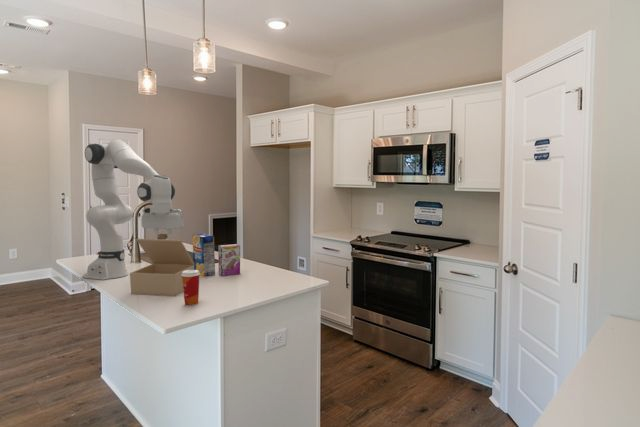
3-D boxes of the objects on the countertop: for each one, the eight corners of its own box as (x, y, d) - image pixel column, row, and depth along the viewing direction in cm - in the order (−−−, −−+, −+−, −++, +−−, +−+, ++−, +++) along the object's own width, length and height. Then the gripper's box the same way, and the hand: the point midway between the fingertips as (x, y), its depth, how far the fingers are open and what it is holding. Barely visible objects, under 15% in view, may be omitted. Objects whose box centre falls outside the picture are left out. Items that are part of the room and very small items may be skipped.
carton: (130, 294, 194) (129, 273, 193) (153, 282, 214) (153, 263, 213) (175, 296, 191) (174, 274, 190) (194, 284, 211) (193, 265, 210)
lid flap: (136, 239, 198) (140, 232, 201) (153, 263, 213) (156, 256, 216) (180, 240, 195) (183, 233, 198) (194, 264, 210) (196, 257, 213)
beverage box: (204, 277, 226) (203, 236, 224) (193, 273, 233) (192, 234, 231) (215, 274, 231) (214, 235, 228) (204, 271, 238) (203, 233, 236)
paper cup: (184, 300, 184) (183, 269, 183) (202, 300, 185) (201, 269, 183) (180, 306, 176) (179, 273, 175) (198, 305, 177) (197, 273, 175)
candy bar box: (221, 276, 227) (220, 246, 225) (218, 274, 231) (217, 245, 229) (240, 273, 233) (240, 244, 231) (237, 272, 237) (236, 243, 235)
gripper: (185, 208, 201) (186, 237, 203) (146, 208, 204) (147, 236, 206) (179, 210, 195) (180, 239, 196) (139, 209, 198) (140, 238, 199)
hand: (163, 237), depth 201 cm, fingers closed on lid flap, 3 cm apart
